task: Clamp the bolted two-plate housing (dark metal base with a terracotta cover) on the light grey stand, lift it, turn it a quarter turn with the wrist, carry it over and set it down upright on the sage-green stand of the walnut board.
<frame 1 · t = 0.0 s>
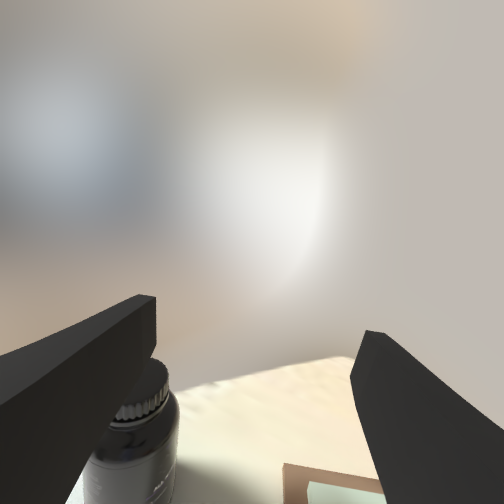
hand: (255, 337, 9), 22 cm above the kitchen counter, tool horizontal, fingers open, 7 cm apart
supplement bottle: (133, 494, 22), on the kitchen counter
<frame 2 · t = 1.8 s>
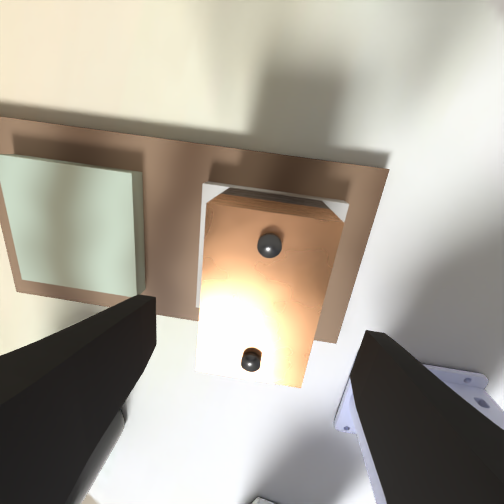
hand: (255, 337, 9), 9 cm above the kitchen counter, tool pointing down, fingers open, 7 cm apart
supplement bottle: (93, 409, 25), on the kitchen counter
housing: (264, 261, 15), point 2 cm above the kitchen counter, touching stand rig
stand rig: (178, 236, 17), on the kitchen counter
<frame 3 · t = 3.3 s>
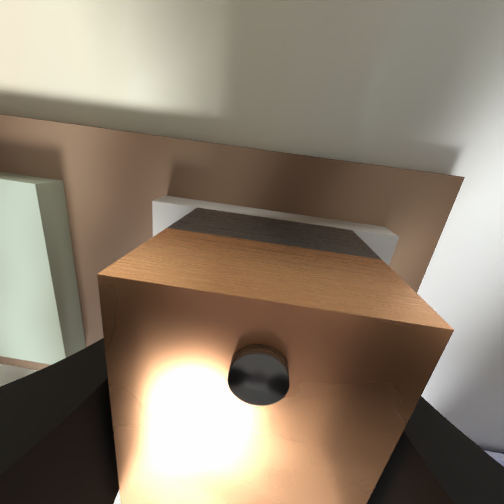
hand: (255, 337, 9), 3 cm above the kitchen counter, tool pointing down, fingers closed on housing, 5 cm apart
housing: (257, 321, 10), point 2 cm above the kitchen counter, touching gripper, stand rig
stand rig: (130, 274, 12), on the kitchen counter
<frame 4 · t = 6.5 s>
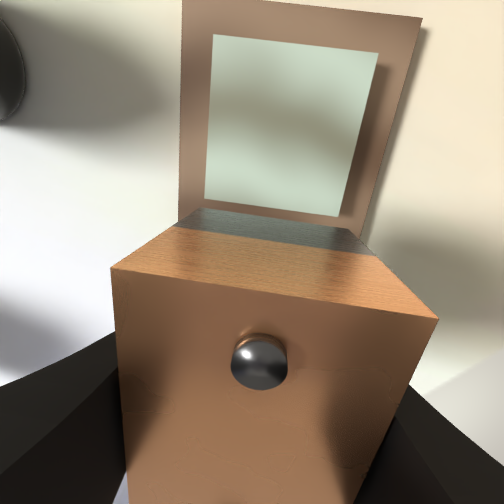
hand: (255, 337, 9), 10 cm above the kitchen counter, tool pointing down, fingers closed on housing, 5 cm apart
housing: (257, 317, 10), point 9 cm above the kitchen counter, touching gripper
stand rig: (266, 230, 18), on the kitchen counter
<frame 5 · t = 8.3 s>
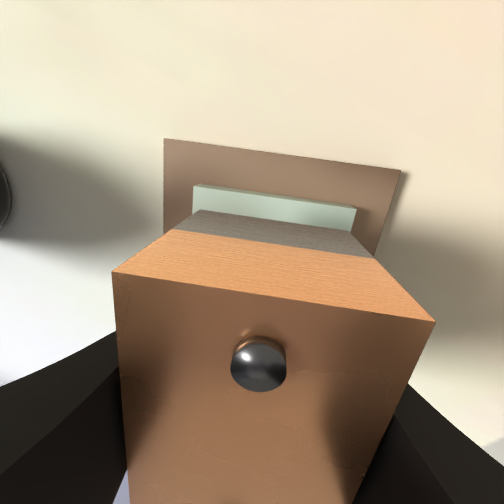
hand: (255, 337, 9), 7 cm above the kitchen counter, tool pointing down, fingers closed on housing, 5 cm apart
housing: (257, 319, 10), point 6 cm above the kitchen counter, touching gripper
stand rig: (251, 336, 18), on the kitchen counter
when the fingers open (4 cm above the kitchen counter, at t = 10.0 s): housing stays where it is, resting on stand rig.
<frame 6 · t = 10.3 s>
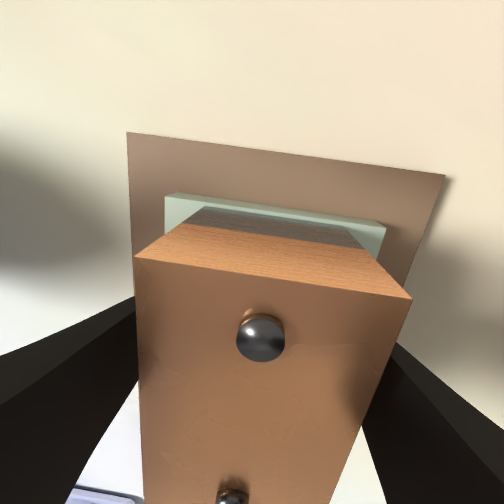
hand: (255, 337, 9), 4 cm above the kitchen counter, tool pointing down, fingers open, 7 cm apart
housing: (258, 309, 11), point 2 cm above the kitchen counter, touching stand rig
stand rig: (246, 376, 15), on the kitchen counter
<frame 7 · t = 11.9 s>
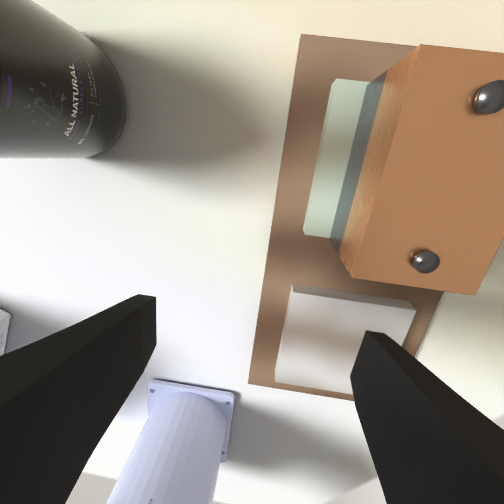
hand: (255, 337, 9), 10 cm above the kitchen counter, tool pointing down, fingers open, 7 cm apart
supplement bottle: (78, 98, 16), on the kitchen counter
housing: (392, 176, 14), point 2 cm above the kitchen counter, touching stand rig
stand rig: (353, 261, 18), on the kitchen counter
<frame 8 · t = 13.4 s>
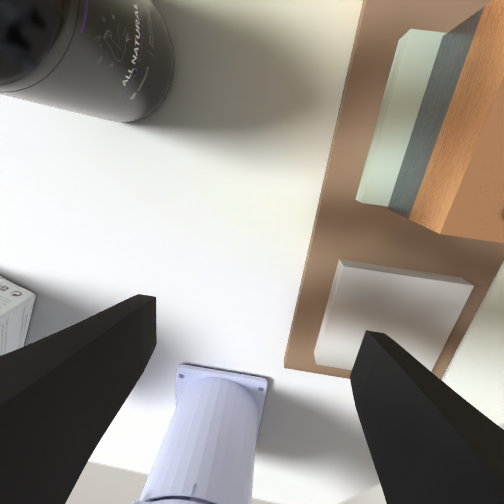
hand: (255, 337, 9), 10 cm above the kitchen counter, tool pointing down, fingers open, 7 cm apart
supplement bottle: (121, 58, 15), on the kitchen counter
skincare box: (3, 312, 23), on the kitchen counter
housing: (461, 138, 13), point 2 cm above the kitchen counter, touching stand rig
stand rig: (404, 236, 17), on the kitchen counter
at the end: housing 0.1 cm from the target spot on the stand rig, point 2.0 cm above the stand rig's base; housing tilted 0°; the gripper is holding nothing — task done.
